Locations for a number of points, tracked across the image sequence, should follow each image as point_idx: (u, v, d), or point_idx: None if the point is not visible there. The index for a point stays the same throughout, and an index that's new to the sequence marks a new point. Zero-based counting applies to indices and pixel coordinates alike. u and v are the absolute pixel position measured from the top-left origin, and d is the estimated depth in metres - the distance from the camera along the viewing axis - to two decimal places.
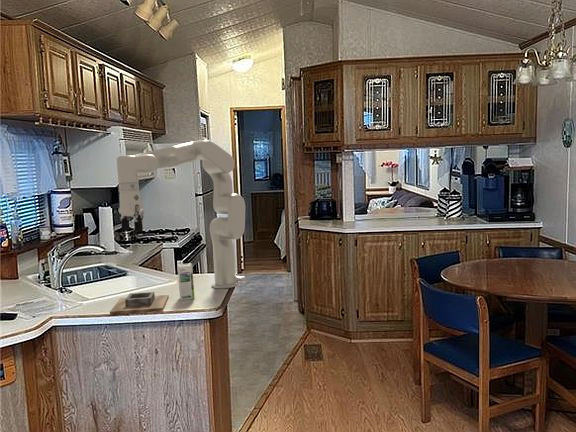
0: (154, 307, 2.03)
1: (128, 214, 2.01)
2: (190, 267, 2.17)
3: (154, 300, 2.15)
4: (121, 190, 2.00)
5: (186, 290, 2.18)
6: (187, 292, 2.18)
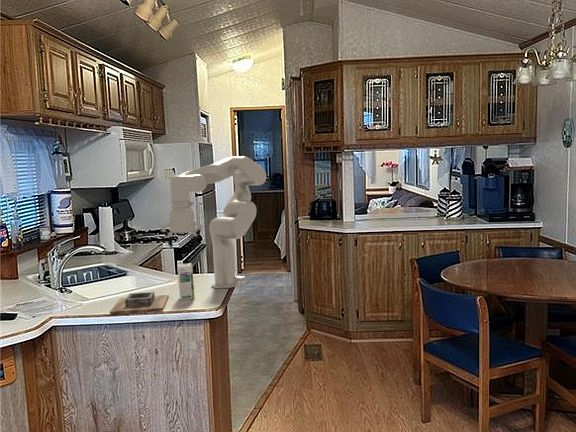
0: (154, 307, 2.03)
1: (186, 230, 2.16)
2: (190, 267, 2.17)
3: (154, 300, 2.15)
4: (181, 208, 2.13)
5: (186, 290, 2.18)
6: (187, 292, 2.18)
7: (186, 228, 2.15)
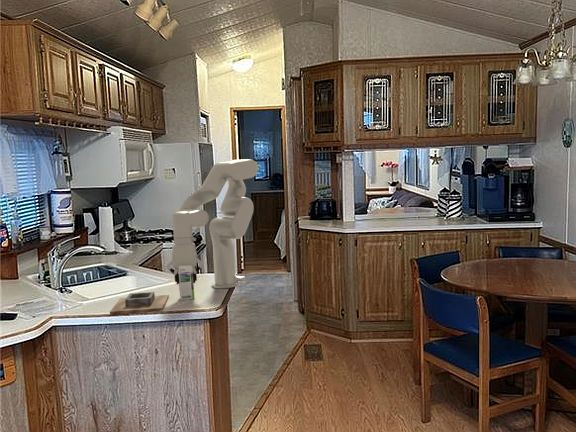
0: (154, 307, 2.03)
1: (188, 265, 2.17)
2: (190, 267, 2.17)
3: (154, 300, 2.15)
4: (184, 244, 2.15)
5: (186, 290, 2.18)
6: (187, 292, 2.18)
7: (189, 264, 2.17)
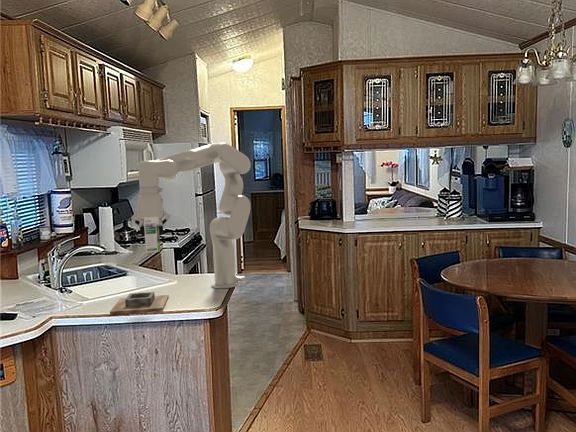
0: (154, 307, 2.03)
1: None
2: (156, 219, 2.09)
3: (154, 300, 2.15)
4: (150, 194, 2.07)
5: (152, 242, 2.09)
6: (153, 244, 2.09)
7: (155, 215, 2.09)
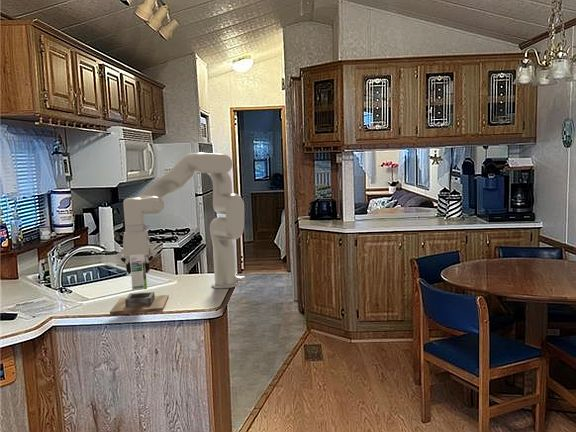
0: (154, 307, 2.03)
1: None
2: (142, 256, 2.08)
3: (154, 300, 2.15)
4: (135, 232, 2.05)
5: (138, 280, 2.08)
6: (139, 282, 2.08)
7: (141, 252, 2.08)
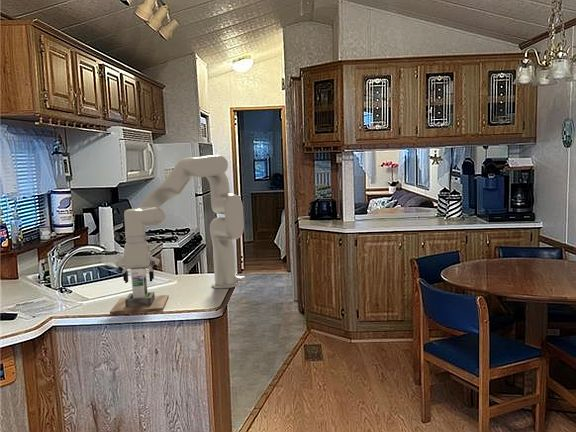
0: (154, 307, 2.03)
1: (141, 265, 2.08)
2: (143, 271, 2.08)
3: (154, 300, 2.15)
4: (136, 243, 2.06)
5: (139, 294, 2.09)
6: (140, 296, 2.09)
7: (141, 263, 2.08)
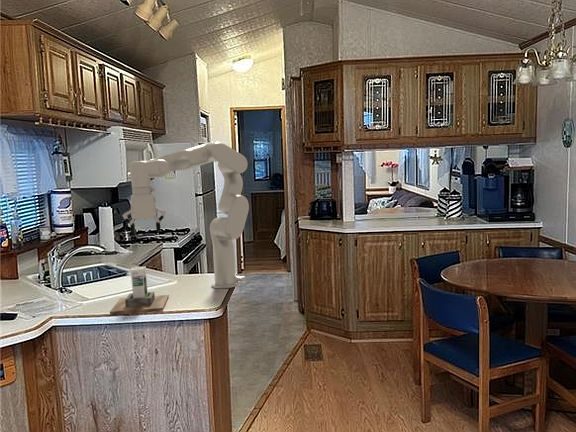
0: (154, 307, 2.03)
1: (148, 216, 2.12)
2: (143, 271, 2.08)
3: (154, 300, 2.15)
4: (142, 194, 2.09)
5: (139, 294, 2.09)
6: (140, 296, 2.09)
7: (148, 214, 2.12)
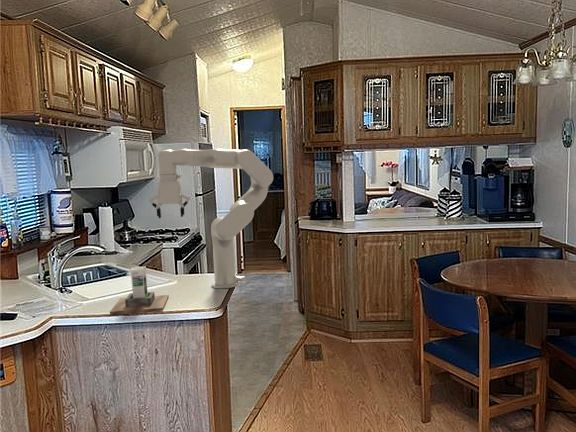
0: (154, 307, 2.03)
1: (173, 202, 2.28)
2: (143, 271, 2.08)
3: (154, 300, 2.15)
4: (169, 180, 2.25)
5: (139, 294, 2.09)
6: (140, 296, 2.09)
7: (173, 200, 2.28)
